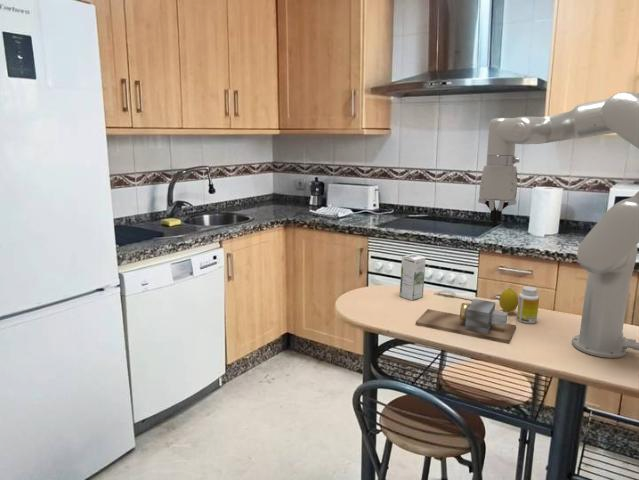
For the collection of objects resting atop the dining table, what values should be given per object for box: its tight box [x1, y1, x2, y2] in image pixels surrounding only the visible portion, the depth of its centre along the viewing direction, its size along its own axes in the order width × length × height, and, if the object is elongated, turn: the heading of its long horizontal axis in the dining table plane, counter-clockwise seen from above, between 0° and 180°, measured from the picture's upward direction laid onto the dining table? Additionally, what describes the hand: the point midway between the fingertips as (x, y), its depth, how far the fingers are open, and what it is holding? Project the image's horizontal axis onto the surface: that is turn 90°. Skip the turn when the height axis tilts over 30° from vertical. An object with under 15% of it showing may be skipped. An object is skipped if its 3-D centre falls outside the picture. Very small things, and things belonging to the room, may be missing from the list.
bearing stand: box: [415, 298, 517, 344], centre depth 143 cm, size 26×12×7 cm, turn 61°
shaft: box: [459, 302, 509, 326], centre depth 141 cm, size 12×5×5 cm, turn 61°
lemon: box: [499, 288, 519, 314], centre depth 154 cm, size 6×6×8 cm
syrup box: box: [399, 253, 426, 301], centre depth 167 cm, size 6×6×14 cm
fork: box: [433, 289, 475, 301], centre depth 168 cm, size 3×21×3 cm, turn 59°
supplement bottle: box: [516, 286, 540, 324], centre depth 148 cm, size 6×6×10 cm
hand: (495, 223), depth 148 cm, fingers closed
